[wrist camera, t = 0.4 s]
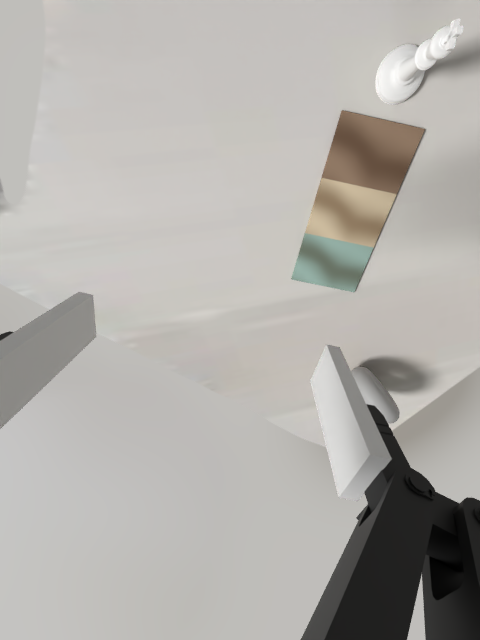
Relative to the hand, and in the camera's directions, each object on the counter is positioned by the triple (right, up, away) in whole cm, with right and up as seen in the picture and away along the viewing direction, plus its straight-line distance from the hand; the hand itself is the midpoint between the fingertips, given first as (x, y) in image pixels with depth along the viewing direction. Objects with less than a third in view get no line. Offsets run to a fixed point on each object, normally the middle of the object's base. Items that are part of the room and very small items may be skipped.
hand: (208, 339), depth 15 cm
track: (+17, +16, +21) cm, 31 cm away
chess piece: (+19, +28, +14) cm, 37 cm away
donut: (+25, -9, +34) cm, 43 cm away
